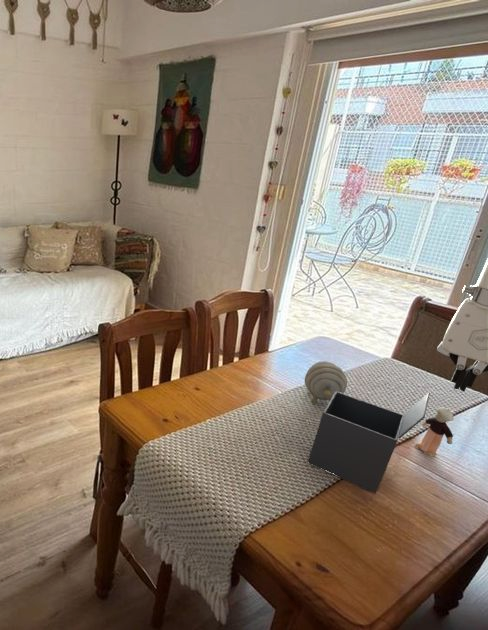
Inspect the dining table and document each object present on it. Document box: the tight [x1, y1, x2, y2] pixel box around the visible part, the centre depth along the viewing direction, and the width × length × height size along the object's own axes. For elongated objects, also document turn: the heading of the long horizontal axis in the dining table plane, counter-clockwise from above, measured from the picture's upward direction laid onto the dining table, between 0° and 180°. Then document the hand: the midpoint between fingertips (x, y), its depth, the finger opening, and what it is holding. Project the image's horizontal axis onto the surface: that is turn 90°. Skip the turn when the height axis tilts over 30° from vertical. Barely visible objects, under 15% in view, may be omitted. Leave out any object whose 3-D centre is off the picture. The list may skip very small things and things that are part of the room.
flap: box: [398, 392, 431, 440], centre depth 91 cm, size 7×12×1 cm
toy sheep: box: [304, 360, 348, 405], centre depth 125 cm, size 11×17×11 cm, turn 160°
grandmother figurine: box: [414, 406, 455, 458], centre depth 105 cm, size 8×4×13 cm, turn 17°
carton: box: [307, 391, 405, 495], centre depth 100 cm, size 14×12×14 cm
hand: (459, 387), depth 84 cm, fingers closed
